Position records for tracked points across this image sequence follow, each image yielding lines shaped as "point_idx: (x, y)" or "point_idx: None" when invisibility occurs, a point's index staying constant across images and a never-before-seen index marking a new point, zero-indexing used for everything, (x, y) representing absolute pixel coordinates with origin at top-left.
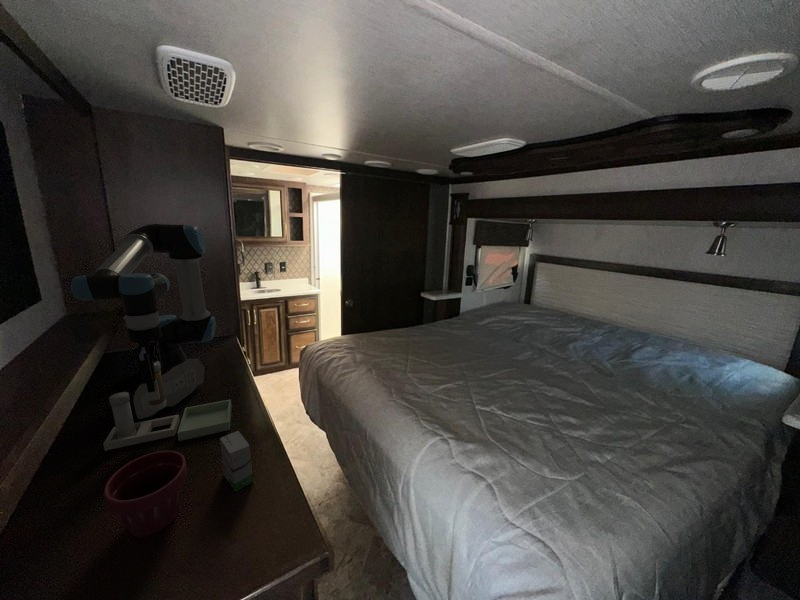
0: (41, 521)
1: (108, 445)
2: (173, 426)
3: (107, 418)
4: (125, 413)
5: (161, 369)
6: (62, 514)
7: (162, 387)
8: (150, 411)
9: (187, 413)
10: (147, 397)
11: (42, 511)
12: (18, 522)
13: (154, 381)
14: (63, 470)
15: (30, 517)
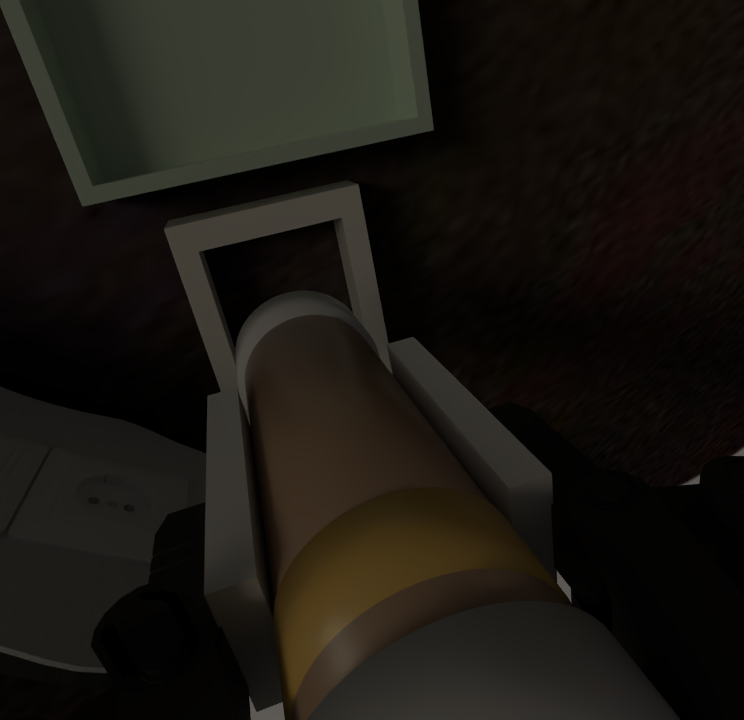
0: (704, 422)
1: None
2: (325, 201)
3: None
4: None
5: (155, 639)
6: (703, 383)
7: (340, 382)
8: (133, 444)
9: (112, 180)
10: (128, 521)
11: (665, 449)
12: (680, 478)
13: (618, 471)
14: None
15: (675, 463)
